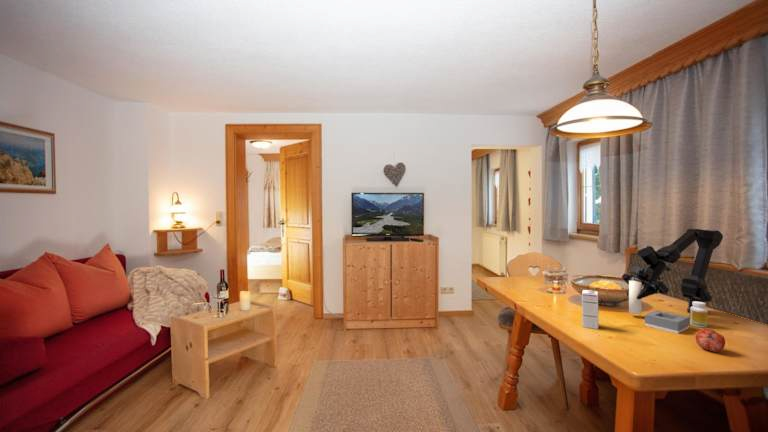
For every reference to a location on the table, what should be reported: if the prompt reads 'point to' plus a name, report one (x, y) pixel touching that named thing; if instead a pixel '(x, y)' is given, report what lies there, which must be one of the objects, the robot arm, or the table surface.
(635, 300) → the white cylinder
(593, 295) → the syrup box
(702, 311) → the supplement bottle
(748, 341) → the table surface
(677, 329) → the socket
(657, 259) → the robot arm
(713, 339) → the pomegranate
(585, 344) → the table surface
